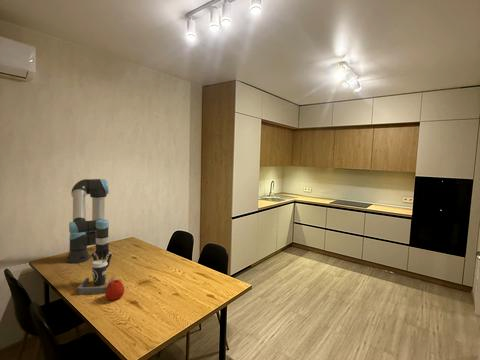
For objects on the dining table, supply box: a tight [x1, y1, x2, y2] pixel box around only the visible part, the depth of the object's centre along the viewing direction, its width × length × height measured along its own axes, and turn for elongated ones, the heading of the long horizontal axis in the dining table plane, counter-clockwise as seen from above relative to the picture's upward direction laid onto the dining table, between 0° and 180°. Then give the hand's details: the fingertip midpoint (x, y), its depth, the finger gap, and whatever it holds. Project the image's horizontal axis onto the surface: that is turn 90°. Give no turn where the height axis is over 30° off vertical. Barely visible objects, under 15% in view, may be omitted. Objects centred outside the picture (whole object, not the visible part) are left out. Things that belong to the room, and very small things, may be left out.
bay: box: [76, 276, 115, 295], centre depth 164 cm, size 14×16×4 cm
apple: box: [104, 279, 125, 301], centre depth 154 cm, size 10×10×10 cm
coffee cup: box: [90, 259, 108, 287], centre depth 169 cm, size 10×10×15 cm
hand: (102, 277), depth 174 cm, fingers closed
